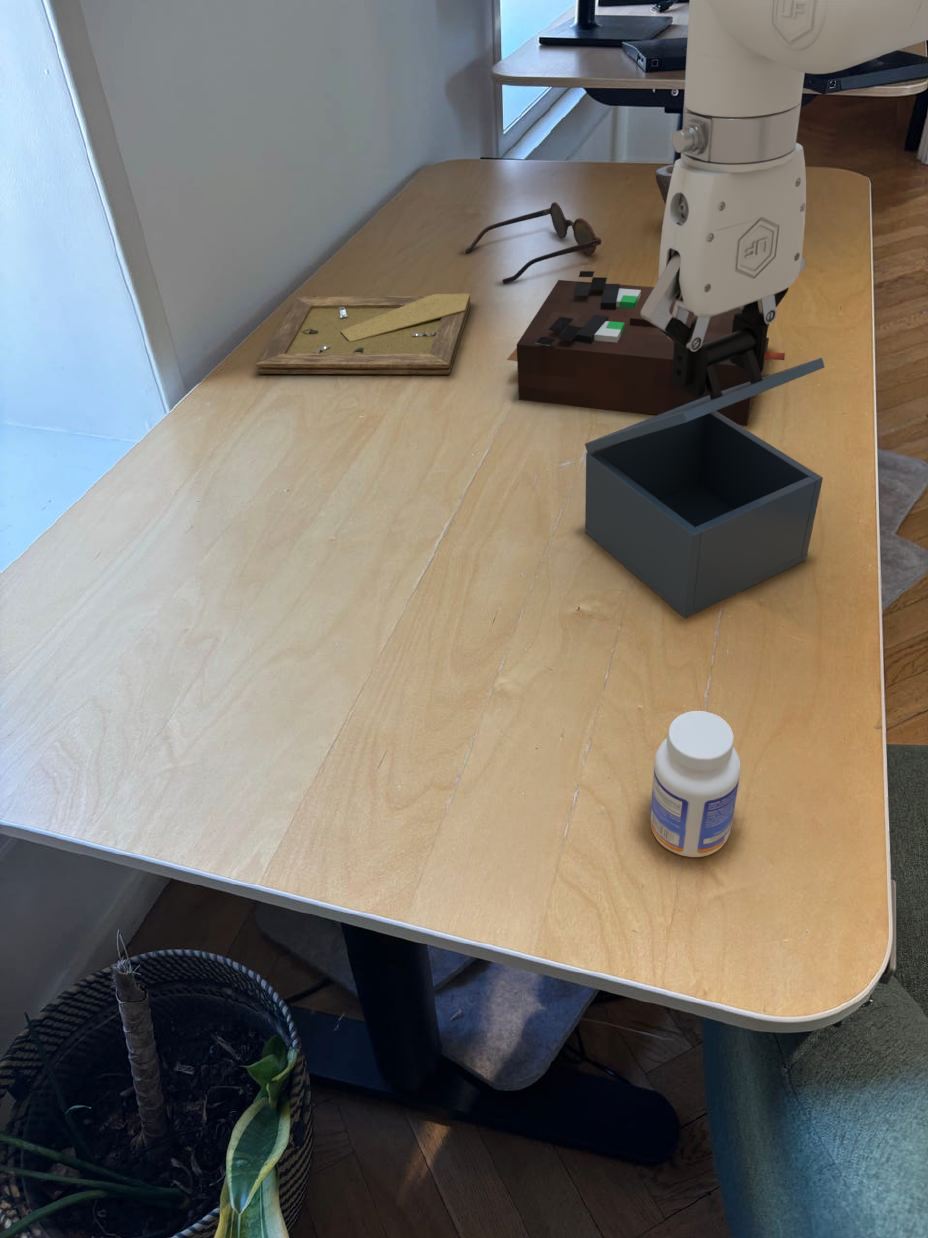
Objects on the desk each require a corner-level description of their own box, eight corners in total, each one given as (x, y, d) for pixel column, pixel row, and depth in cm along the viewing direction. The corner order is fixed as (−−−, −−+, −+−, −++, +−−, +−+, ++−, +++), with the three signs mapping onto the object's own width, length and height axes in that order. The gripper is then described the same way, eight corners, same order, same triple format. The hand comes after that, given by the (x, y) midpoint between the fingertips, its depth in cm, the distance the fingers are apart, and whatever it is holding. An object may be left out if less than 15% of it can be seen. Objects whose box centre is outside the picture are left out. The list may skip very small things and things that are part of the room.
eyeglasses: (601, 261, 139) (601, 225, 135) (506, 286, 135) (504, 250, 131) (551, 228, 149) (550, 194, 145) (461, 251, 145) (459, 216, 141)
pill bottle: (728, 798, 69) (744, 703, 63) (731, 863, 65) (750, 769, 59) (649, 792, 70) (657, 698, 64) (648, 856, 66) (657, 763, 60)
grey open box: (806, 560, 88) (823, 477, 82) (684, 618, 83) (693, 535, 77) (698, 483, 98) (706, 404, 92) (584, 532, 93) (585, 452, 87)
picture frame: (470, 306, 131) (298, 307, 134) (470, 293, 130) (295, 294, 133) (449, 376, 117) (258, 375, 121) (448, 362, 116) (255, 361, 120)
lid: (825, 367, 77) (806, 304, 76) (686, 422, 73) (665, 356, 72) (708, 404, 91) (691, 352, 91) (587, 452, 87) (568, 397, 86)
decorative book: (778, 367, 98) (491, 340, 107) (768, 433, 103) (495, 402, 112) (799, 285, 111) (542, 267, 120) (789, 348, 116) (543, 325, 125)
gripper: (673, 175, 61) (660, 433, 73) (875, 115, 67) (832, 363, 79) (601, 149, 66) (600, 394, 78) (794, 95, 72) (766, 331, 84)
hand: (717, 376), depth 78 cm, fingers closed on lid, 5 cm apart
